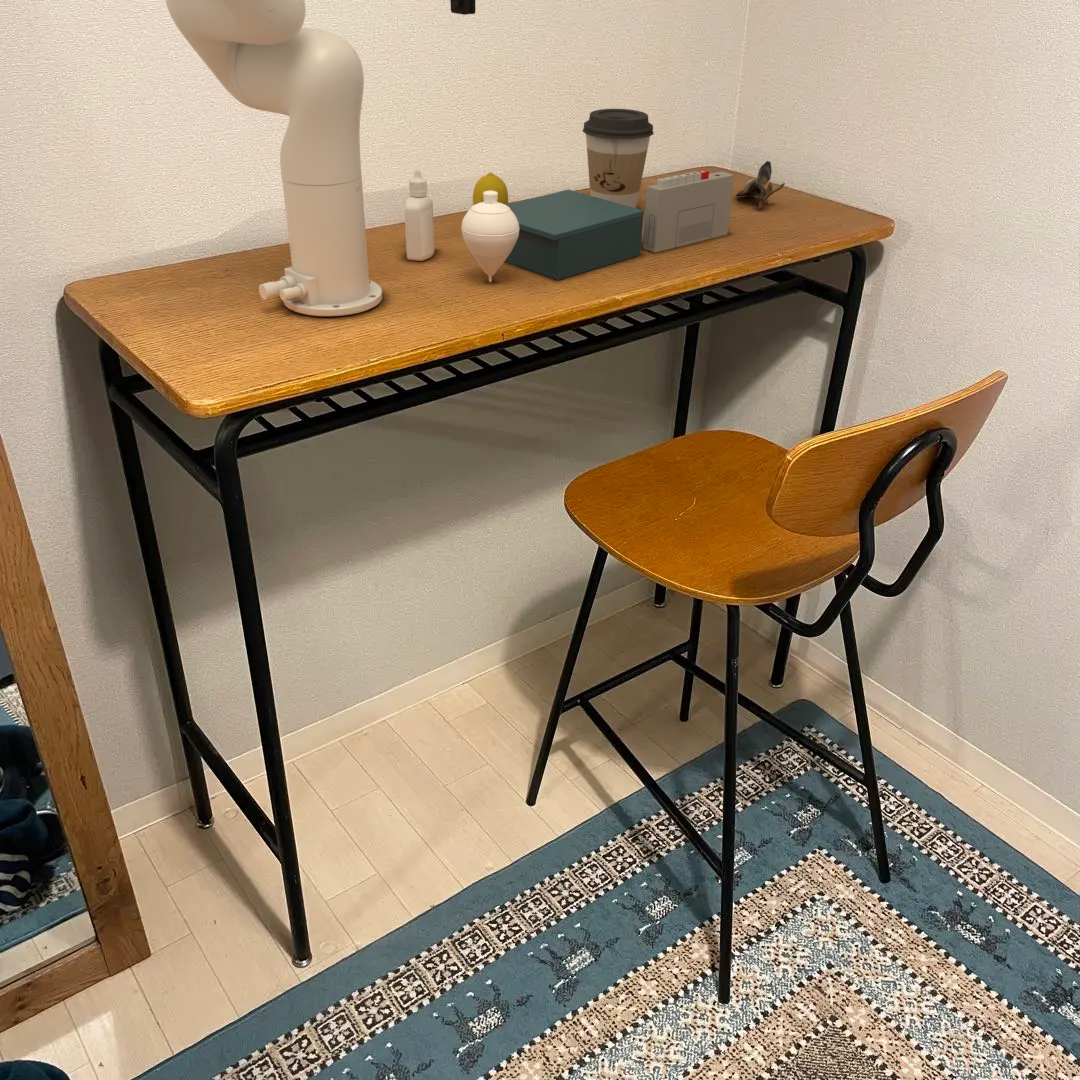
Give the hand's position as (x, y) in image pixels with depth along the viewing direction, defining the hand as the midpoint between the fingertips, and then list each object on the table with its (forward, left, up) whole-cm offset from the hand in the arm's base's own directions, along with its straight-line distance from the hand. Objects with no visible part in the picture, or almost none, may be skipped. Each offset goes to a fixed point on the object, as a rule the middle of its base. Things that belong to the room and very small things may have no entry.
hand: (463, 13), depth 138 cm
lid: (+8, -12, -25) cm, 29 cm away
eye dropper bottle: (-8, +1, -31) cm, 32 cm away
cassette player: (+27, -20, -31) cm, 46 cm away
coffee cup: (+31, -1, -31) cm, 44 cm away
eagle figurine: (+53, -14, -31) cm, 63 cm away
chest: (+8, -12, -31) cm, 34 cm away
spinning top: (-8, -14, -31) cm, 35 cm away
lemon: (+10, +6, -31) cm, 33 cm away
